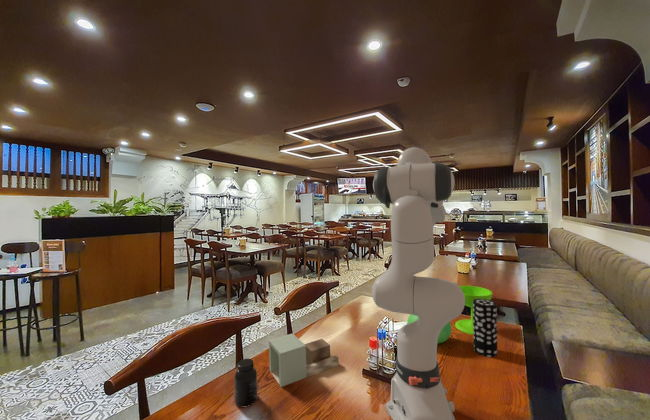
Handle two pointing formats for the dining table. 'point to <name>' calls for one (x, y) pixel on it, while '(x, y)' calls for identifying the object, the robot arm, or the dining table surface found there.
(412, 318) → the gravy boat
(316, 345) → the block
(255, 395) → the supplement bottle
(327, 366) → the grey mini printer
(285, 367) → the pale sage box
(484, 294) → the wineglass
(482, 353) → the white-spotted black cylinder
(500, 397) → the dining table surface
